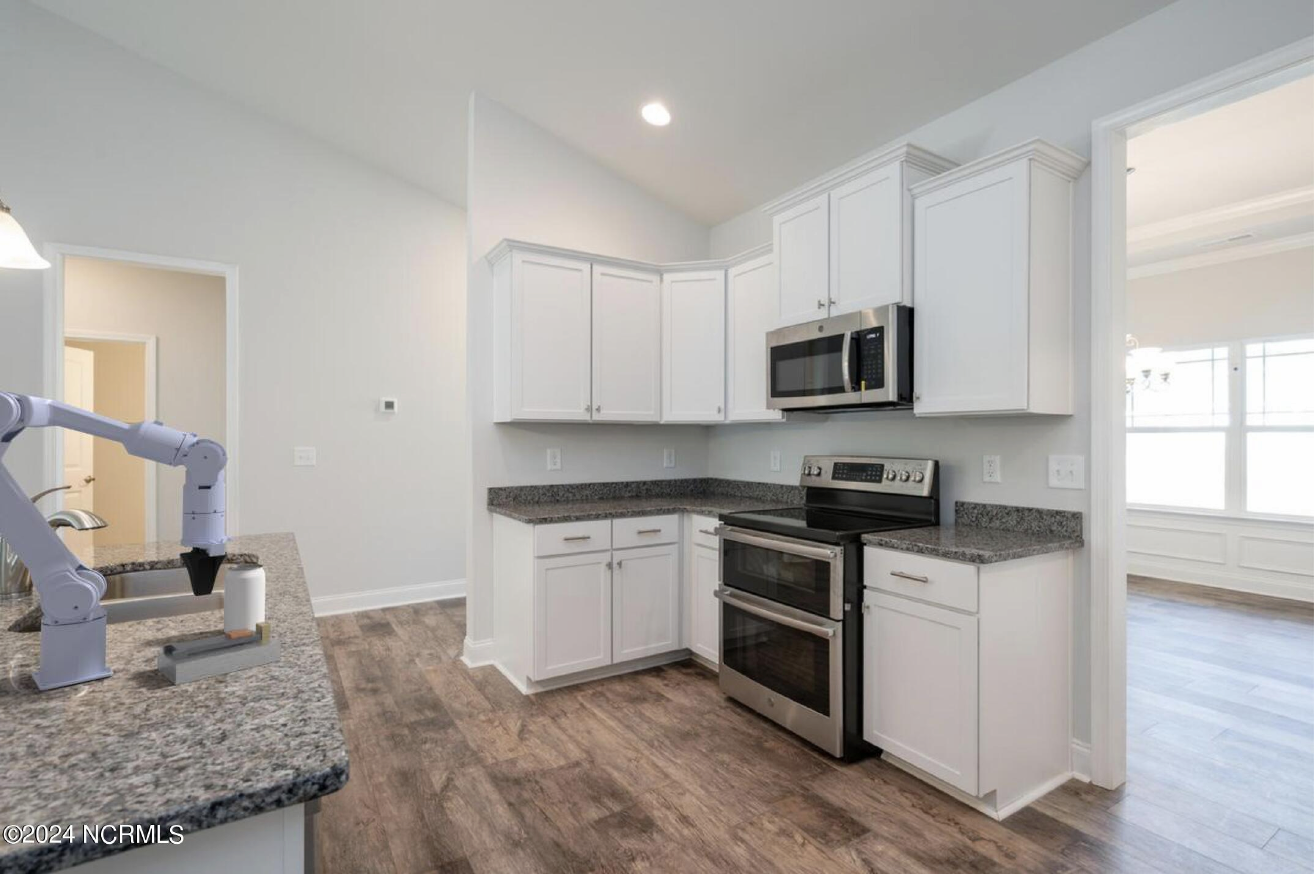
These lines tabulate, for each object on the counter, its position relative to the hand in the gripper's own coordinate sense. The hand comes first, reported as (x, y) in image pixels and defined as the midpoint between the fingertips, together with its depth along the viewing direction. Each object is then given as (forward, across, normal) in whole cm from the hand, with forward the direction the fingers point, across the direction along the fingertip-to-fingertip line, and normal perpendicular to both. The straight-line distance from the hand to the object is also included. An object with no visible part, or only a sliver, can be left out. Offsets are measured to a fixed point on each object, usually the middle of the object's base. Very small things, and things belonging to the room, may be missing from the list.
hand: (202, 594), depth 103 cm
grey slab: (+7, -6, 0) cm, 9 cm away
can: (+11, +12, -10) cm, 19 cm away
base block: (+10, -6, -1) cm, 12 cm away
